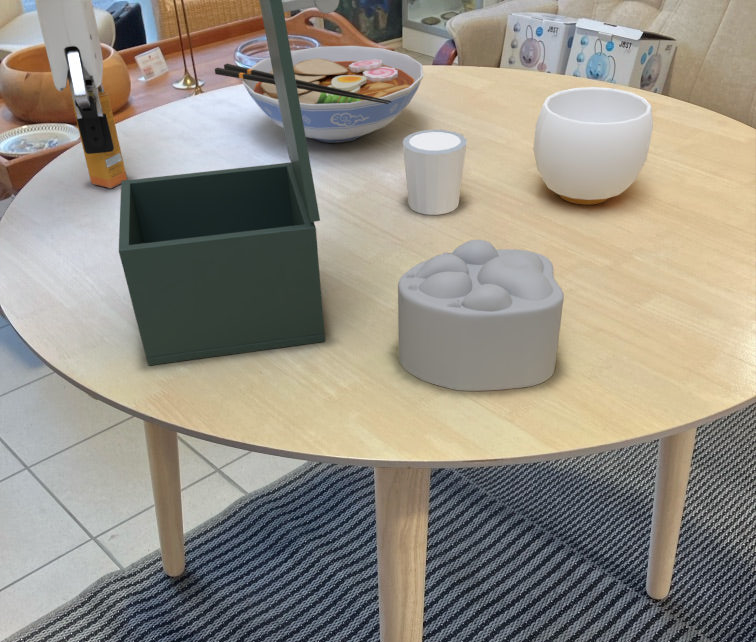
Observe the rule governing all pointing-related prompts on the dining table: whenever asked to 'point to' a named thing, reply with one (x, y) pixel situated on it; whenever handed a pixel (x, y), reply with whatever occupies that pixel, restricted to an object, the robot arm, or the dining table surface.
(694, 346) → the dining table surface
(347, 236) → the dining table surface
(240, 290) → the chest
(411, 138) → the shot glass
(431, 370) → the lumpy-topped squat cylinder
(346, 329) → the dining table surface
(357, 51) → the ramen bowl
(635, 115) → the cup
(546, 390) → the dining table surface
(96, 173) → the supplement box
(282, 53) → the lid
